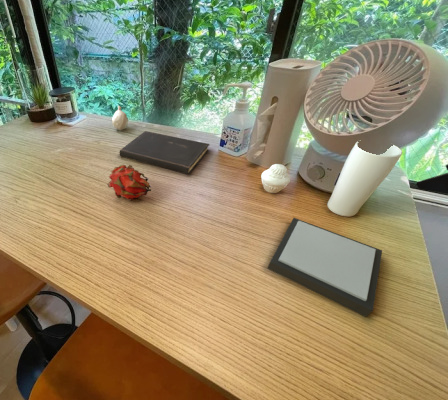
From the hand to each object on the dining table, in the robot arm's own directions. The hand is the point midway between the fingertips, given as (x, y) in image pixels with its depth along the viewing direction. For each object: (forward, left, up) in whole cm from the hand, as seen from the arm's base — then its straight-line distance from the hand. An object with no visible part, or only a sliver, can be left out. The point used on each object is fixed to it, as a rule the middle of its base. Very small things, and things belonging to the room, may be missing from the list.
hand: (432, 176), depth 41 cm
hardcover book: (+54, -2, -14) cm, 55 cm away
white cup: (+8, -3, -14) cm, 16 cm away
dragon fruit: (+49, +20, -14) cm, 54 cm away
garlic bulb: (+79, -9, -14) cm, 80 cm away
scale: (+8, +15, -13) cm, 21 cm away
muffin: (+22, -2, -14) cm, 26 cm away
